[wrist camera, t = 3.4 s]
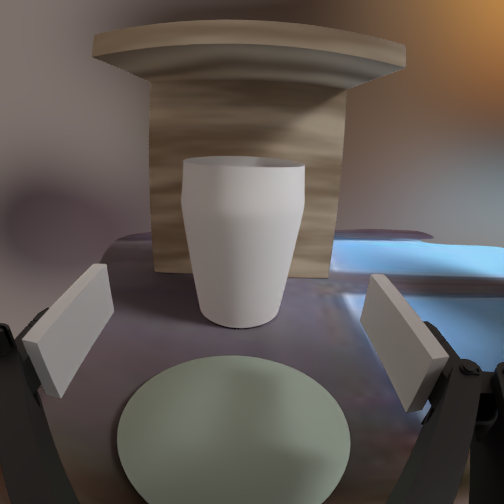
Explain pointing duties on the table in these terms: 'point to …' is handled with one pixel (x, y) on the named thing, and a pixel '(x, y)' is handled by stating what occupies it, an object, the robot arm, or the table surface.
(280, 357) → the table surface
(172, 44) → the shelf
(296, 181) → the cup
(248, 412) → the mat
